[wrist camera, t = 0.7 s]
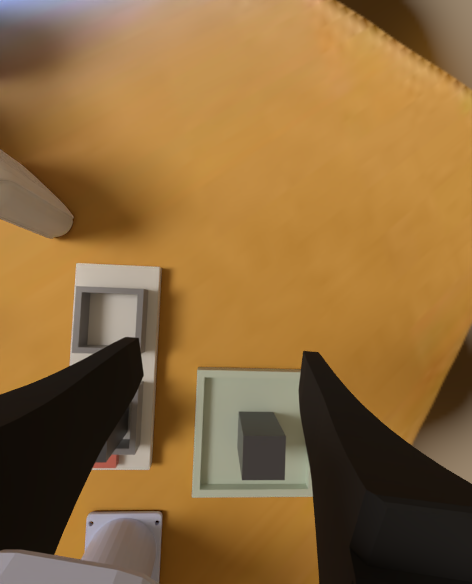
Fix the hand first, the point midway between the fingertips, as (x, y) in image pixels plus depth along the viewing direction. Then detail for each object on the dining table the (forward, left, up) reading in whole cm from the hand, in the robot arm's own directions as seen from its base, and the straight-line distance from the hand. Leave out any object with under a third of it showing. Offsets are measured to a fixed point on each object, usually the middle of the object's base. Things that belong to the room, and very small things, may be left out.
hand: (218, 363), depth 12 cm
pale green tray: (-11, -5, -21) cm, 24 cm away
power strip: (-4, +11, -21) cm, 24 cm away
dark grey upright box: (-11, -5, -20) cm, 24 cm away
